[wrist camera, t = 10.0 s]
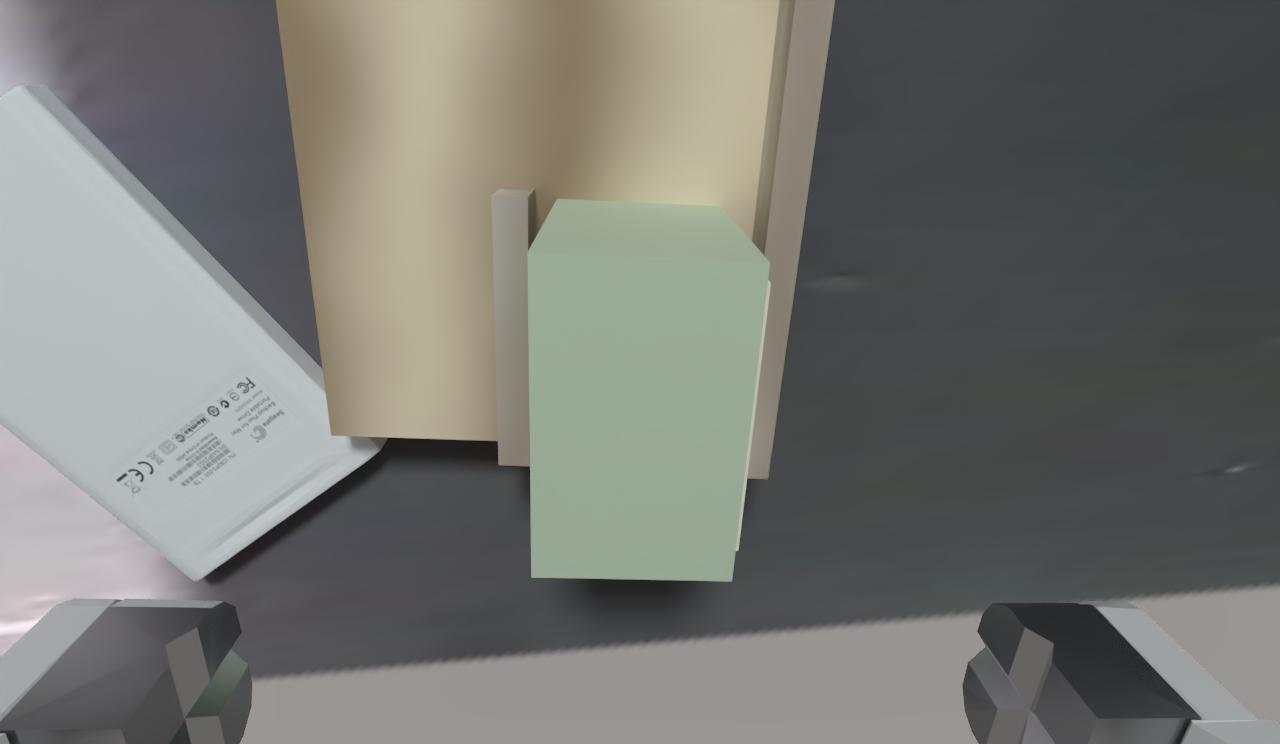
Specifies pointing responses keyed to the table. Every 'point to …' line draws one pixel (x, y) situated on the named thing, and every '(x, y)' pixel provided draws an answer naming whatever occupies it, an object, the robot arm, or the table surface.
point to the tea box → (641, 389)
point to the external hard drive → (147, 353)
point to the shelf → (526, 177)
